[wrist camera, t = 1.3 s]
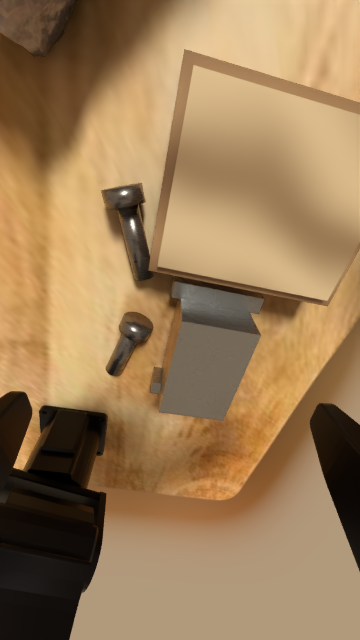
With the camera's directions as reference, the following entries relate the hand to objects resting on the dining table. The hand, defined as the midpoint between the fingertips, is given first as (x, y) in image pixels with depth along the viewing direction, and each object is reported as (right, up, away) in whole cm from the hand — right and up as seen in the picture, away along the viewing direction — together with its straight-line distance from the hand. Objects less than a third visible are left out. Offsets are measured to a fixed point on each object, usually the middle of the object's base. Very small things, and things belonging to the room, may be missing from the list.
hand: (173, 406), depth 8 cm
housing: (+2, +1, +14) cm, 14 cm away
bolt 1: (-3, +8, +10) cm, 13 cm away
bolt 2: (-4, +1, +14) cm, 15 cm away
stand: (+5, +10, +9) cm, 14 cm away
